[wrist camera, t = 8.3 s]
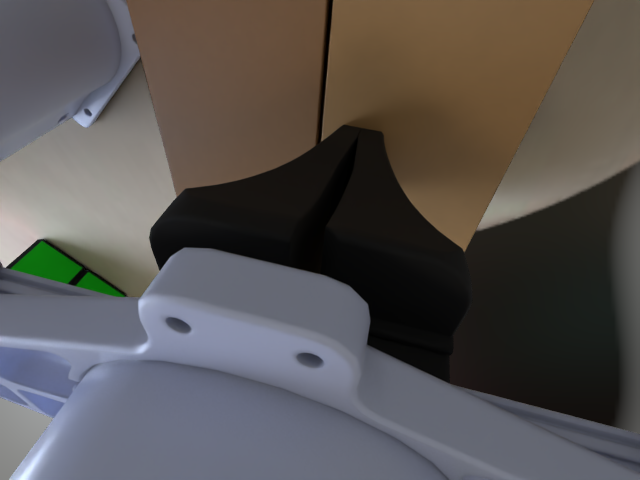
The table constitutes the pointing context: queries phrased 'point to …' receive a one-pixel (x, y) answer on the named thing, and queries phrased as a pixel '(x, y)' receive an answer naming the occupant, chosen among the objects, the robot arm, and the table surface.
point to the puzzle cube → (60, 268)
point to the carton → (234, 82)
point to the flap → (446, 90)
